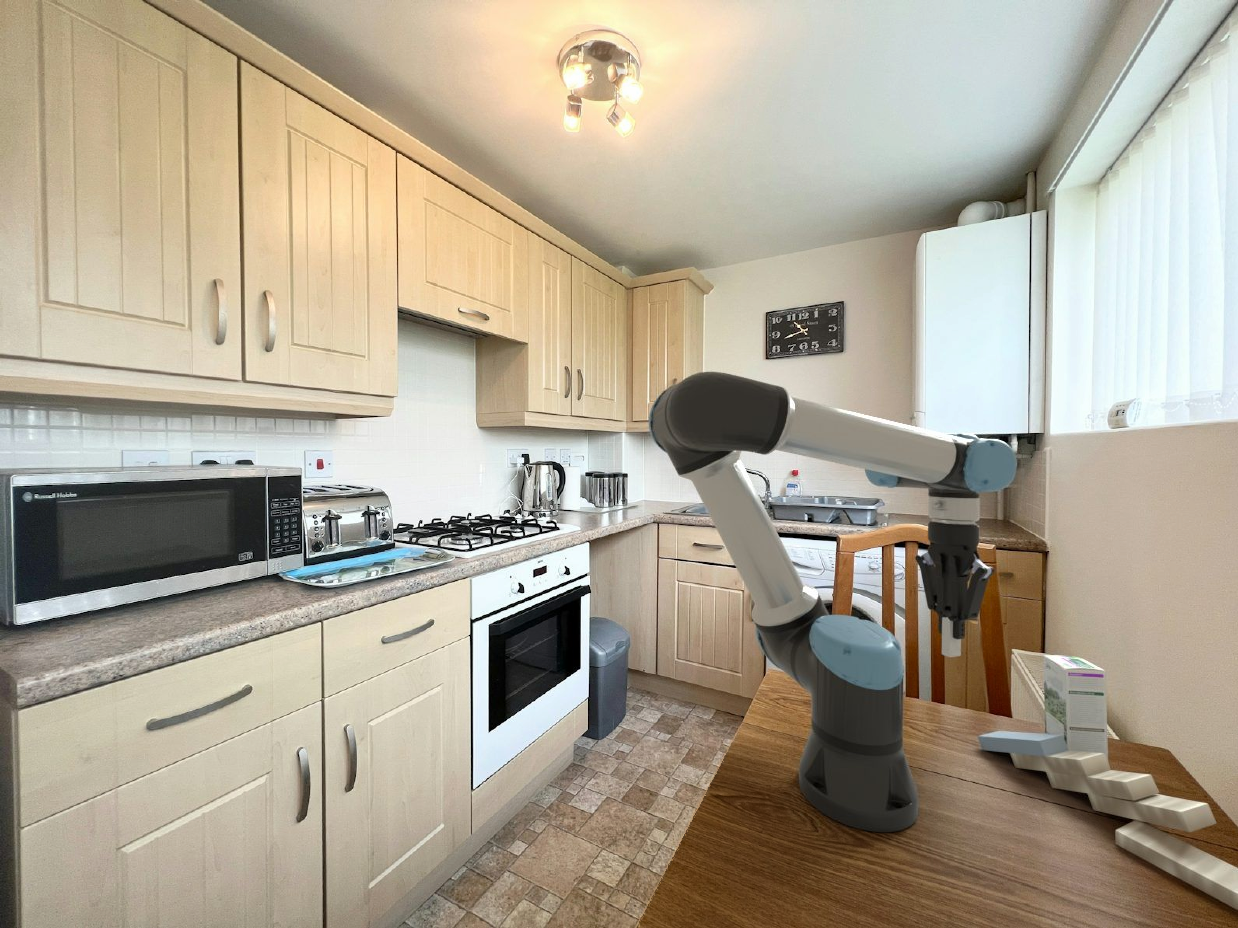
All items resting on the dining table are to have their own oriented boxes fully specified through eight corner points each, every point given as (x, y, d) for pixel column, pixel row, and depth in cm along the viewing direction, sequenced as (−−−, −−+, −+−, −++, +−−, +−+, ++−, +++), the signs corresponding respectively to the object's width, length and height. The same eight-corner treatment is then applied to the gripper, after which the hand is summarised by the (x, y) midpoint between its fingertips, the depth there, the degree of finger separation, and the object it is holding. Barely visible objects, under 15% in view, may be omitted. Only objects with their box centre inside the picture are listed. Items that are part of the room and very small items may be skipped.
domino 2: (1009, 752, 76) (1079, 759, 68) (1032, 746, 78) (1104, 753, 69) (1015, 767, 76) (1087, 776, 67) (1038, 761, 77) (1111, 769, 68)
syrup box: (1110, 764, 76) (1109, 670, 76) (1065, 759, 77) (1064, 667, 78) (1083, 743, 82) (1082, 656, 82) (1042, 739, 83) (1041, 653, 83)
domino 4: (1087, 792, 67) (1181, 811, 58) (1112, 785, 68) (1207, 803, 59) (1093, 809, 66) (1189, 832, 57) (1118, 802, 68) (1216, 823, 59)
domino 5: (1115, 830, 60) (1241, 895, 51) (1137, 818, 62) (1262, 880, 53) (1115, 846, 60) (1242, 915, 51) (1137, 834, 62) (1263, 898, 53)
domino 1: (977, 735, 81) (1039, 740, 72) (999, 730, 83) (1062, 734, 74) (982, 749, 80) (1045, 756, 72) (1004, 744, 82) (1068, 750, 73)
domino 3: (1045, 771, 72) (1125, 781, 63) (1069, 765, 73) (1151, 774, 64) (1052, 787, 71) (1133, 800, 62) (1076, 780, 72) (1159, 792, 64)
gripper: (904, 517, 92) (902, 644, 92) (975, 526, 80) (973, 672, 80) (934, 517, 95) (932, 640, 95) (1006, 525, 83) (1005, 666, 83)
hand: (951, 654), depth 87 cm, fingers closed
